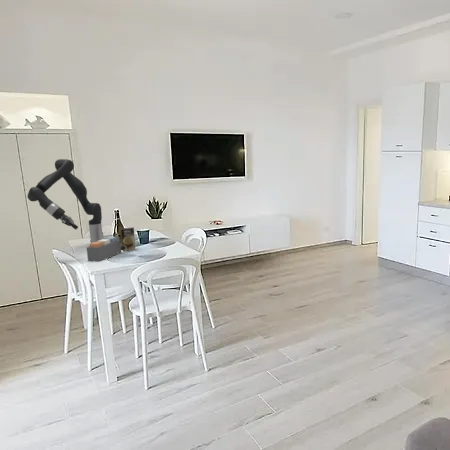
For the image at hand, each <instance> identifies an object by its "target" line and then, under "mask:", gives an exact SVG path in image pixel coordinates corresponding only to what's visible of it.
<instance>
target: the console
mask: <svg viewBox="0 0 450 450" xmlns="http://www.w3.org/2000/svg"><path fill="white" fill-rule="evenodd" d="M120 253H122V243H121V239H117V241H114V242H110V243H109V244H106V245H103V246H101V247H98V248H94V247H90V246H88V247H87V246H86V256H87V261H88V262H103V261H104V260H106V259H108V258H111V257H113V256H116V255H118V254H120Z"/></svg>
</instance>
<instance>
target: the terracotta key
mask: <svg viewBox="0 0 450 450" xmlns="http://www.w3.org/2000/svg"><path fill="white" fill-rule="evenodd" d="M101 246H103V242H93V243H91V242H90V243H89V247H94V248H98V247H101Z"/></svg>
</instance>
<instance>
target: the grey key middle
mask: <svg viewBox="0 0 450 450" xmlns="http://www.w3.org/2000/svg"><path fill="white" fill-rule="evenodd" d="M97 242H103V245H106V244H109V243H110V239H105V238H104V239H102V240H99V241H97Z"/></svg>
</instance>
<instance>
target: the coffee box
mask: <svg viewBox="0 0 450 450" xmlns="http://www.w3.org/2000/svg"><path fill="white" fill-rule="evenodd" d="M120 234H121V249H122V252H131V251H132V252H133V251H136V249H137V247H136V239H135V236H136V235H135V227H121V228H120Z"/></svg>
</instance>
